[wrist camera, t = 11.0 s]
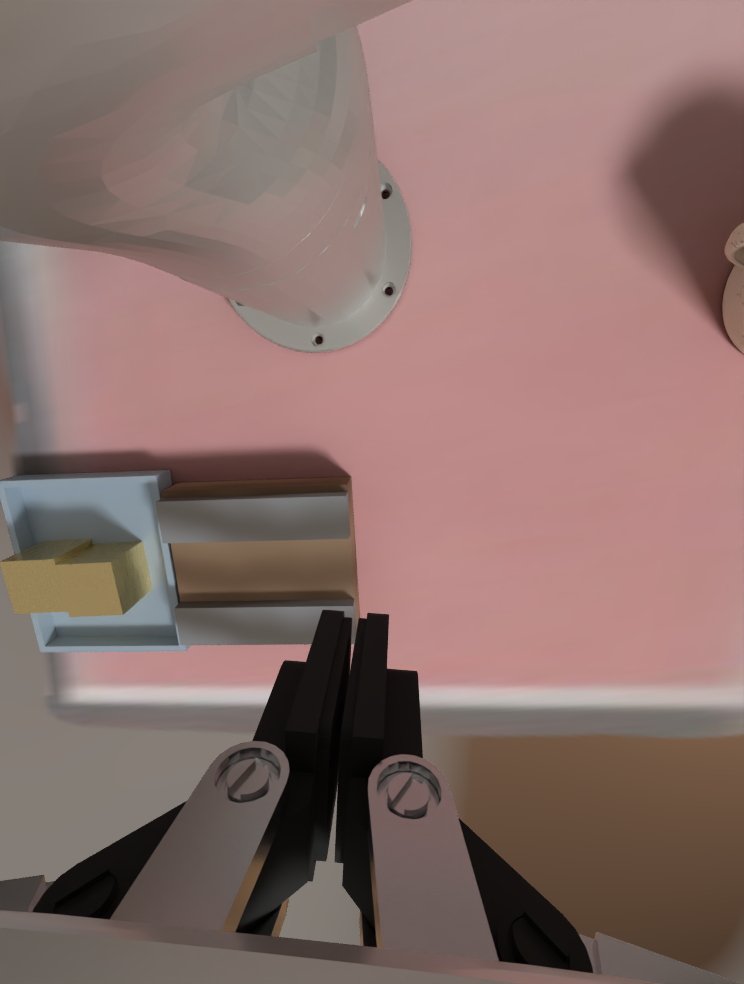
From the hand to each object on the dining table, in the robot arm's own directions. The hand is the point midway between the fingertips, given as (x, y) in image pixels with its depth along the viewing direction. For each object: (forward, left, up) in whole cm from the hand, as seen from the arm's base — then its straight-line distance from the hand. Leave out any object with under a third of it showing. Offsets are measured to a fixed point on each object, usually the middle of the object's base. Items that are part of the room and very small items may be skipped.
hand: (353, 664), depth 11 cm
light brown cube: (+7, -21, -22) cm, 31 cm away
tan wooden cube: (+6, -23, -20) cm, 31 cm away
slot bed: (+6, -9, -23) cm, 25 cm away
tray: (+6, -22, -23) cm, 32 cm away
